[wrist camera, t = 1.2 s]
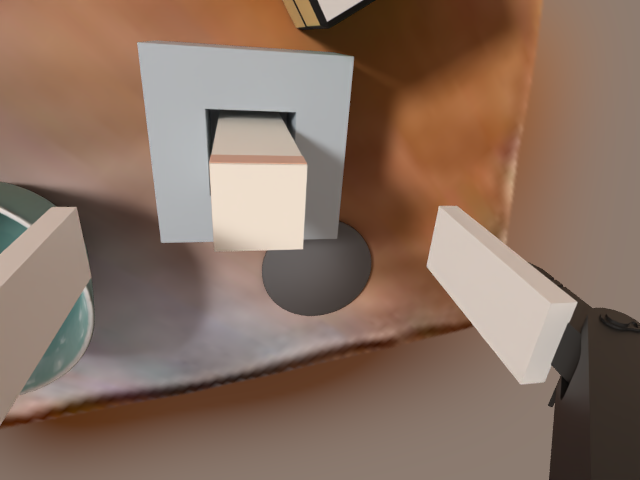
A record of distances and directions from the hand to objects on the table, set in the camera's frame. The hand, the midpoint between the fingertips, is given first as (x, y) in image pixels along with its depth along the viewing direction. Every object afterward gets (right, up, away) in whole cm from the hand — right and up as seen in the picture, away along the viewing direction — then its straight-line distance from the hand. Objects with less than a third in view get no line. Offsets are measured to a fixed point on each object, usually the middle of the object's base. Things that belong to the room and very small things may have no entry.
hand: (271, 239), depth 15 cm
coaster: (+2, -3, +22) cm, 22 cm away
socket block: (-4, +8, +16) cm, 18 cm away
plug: (-3, +8, +15) cm, 17 cm away
